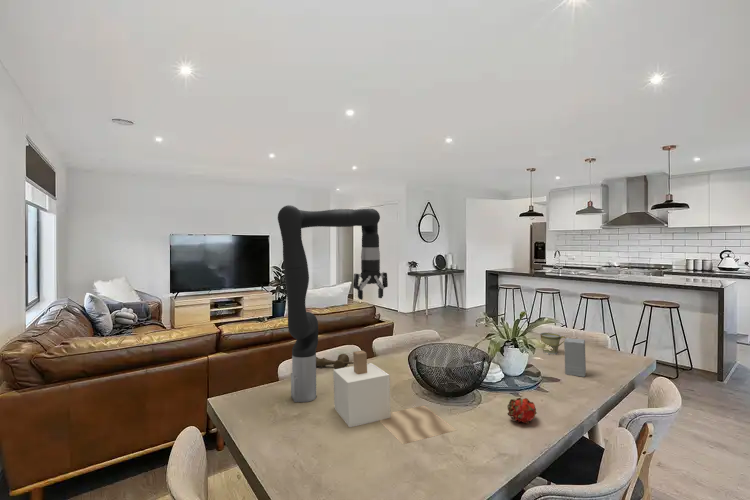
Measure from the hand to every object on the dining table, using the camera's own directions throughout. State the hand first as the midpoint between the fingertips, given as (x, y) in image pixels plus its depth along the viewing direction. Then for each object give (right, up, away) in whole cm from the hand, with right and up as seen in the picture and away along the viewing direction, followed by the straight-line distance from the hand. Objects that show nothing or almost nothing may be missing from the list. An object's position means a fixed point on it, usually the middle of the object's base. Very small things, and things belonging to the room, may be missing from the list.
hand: (370, 298), depth 153 cm
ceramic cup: (+99, -37, +53) cm, 118 cm away
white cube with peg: (-3, -38, -19) cm, 43 cm away
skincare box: (+93, -37, +21) cm, 103 cm away
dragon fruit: (+52, -39, -24) cm, 69 cm away
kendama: (-18, -38, +31) cm, 52 cm away
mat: (+15, -39, -26) cm, 49 cm away
